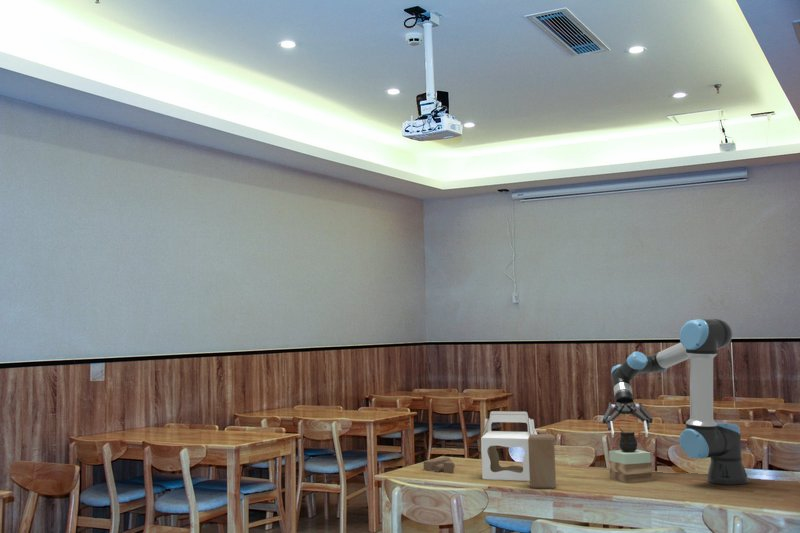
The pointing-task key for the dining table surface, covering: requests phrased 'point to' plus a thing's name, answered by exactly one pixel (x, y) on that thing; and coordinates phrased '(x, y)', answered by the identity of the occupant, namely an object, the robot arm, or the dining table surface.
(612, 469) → the slab middle
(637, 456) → the slab top
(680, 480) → the dining table surface
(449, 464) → the wooden block set
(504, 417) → the gable box
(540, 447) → the block
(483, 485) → the dining table surface
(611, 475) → the slab bottom
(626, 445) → the mate gourd
